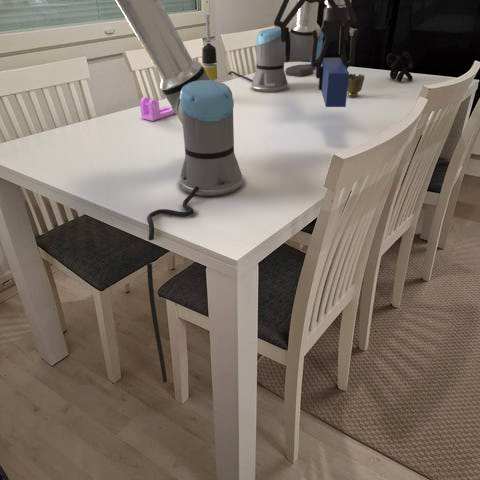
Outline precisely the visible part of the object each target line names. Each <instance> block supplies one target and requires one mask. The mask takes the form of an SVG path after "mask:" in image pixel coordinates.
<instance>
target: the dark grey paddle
mask: <svg viewBox="0 0 480 480" xmlns="http://www.w3.org/2000/svg"><path fill="white" fill-rule="evenodd" d="M321 67H322V65H321ZM315 69H316V67H315V66H312V65H311V63H307V64H295V65H292V66H288V67H286V68H285V69H284V72H285V75H287V76H294V77H304V76H308V75H311V74H313V72H314V70H315Z"/></svg>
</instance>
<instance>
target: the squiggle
mask: <svg viewBox="0 0 480 480" xmlns="http://www.w3.org/2000/svg"><path fill="white" fill-rule="evenodd" d="M401 57H402V59H401ZM391 59H392V60H391ZM393 60H394V61H393ZM385 61H386V64H387V67H390V68H391V70H390V72H389V78H390V79H391V80H395V79H396V81H397V82H399V83H400V82H402V81H403V79H404V76H406V78H407V80H408V81H412V80H413V79H414V77H413V75H412V74H411V73H410V72H409V71H410V70H412V69H413V68H414V64H413V61H412V57H411V54H410V53H409V52H408V51H403V53H402V54H401V55H396V54H394V53H392V52H390V53H387V55H386V57H385ZM406 62H407V65H408V66H407V67H405V66H404V65H405V64H406ZM400 70H401V71H400Z"/></svg>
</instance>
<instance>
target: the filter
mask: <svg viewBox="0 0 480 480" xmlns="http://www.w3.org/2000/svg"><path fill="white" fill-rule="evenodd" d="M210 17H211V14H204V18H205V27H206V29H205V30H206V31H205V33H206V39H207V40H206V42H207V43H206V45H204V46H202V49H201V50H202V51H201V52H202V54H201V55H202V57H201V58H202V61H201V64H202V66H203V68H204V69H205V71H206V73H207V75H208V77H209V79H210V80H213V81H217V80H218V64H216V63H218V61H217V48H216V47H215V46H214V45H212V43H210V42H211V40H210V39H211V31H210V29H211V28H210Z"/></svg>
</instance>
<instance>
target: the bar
mask: <svg viewBox="0 0 480 480" xmlns="http://www.w3.org/2000/svg"><path fill="white" fill-rule="evenodd" d="M322 67H323V77H322V90H320V91H321V95H322V99H323V102H324V105H325V108H346V107H347V98H348V91H347V89H348V80H349V75H350V72H349V70H348V68H347V69H346V67H345V65H344V64H343V62H342V57H324V59H323V62H322Z"/></svg>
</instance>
